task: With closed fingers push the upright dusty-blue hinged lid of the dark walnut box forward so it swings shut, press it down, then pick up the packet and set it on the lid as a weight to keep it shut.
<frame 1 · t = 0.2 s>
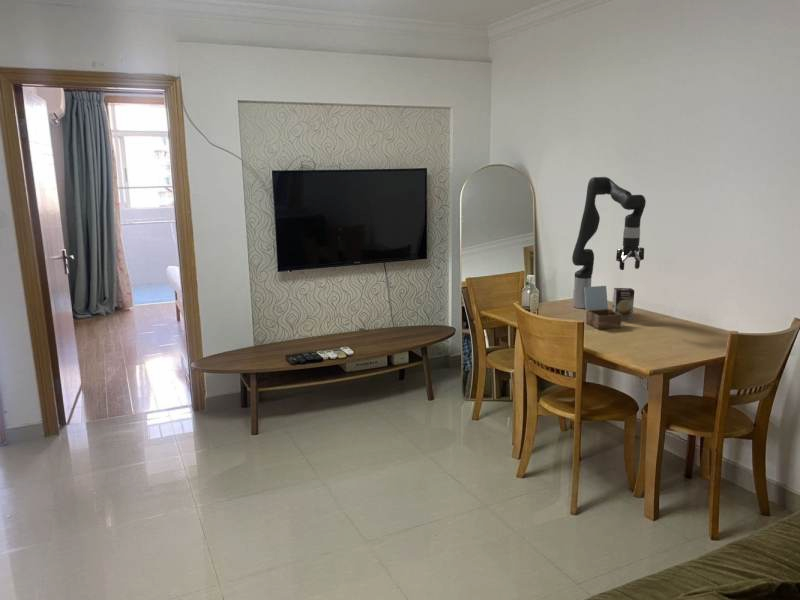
hand: (629, 269, 294), 29 cm above the table, fingers open, 8 cm apart
lid: (595, 298, 306), point 13 cm above the table, hinge at 104.0°
coffee box: (621, 319, 314), on the table
box: (603, 326, 301), on the table
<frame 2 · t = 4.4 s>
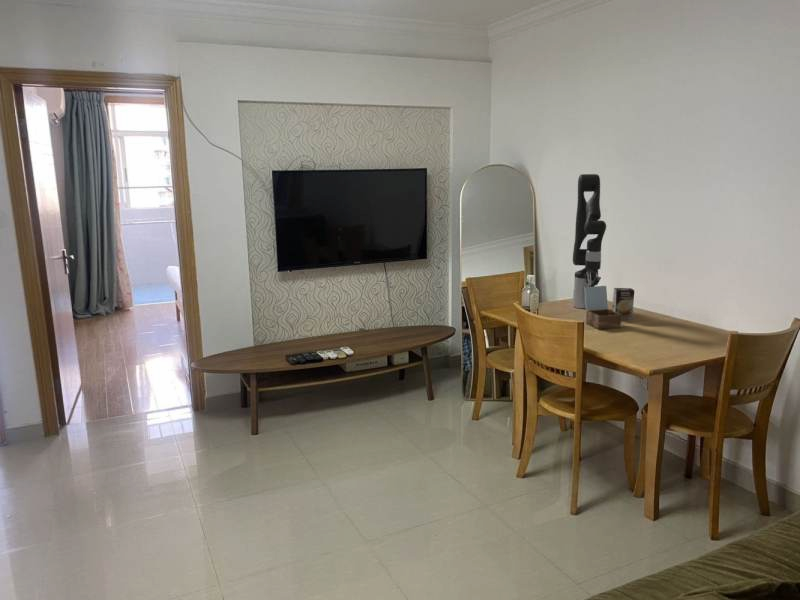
hand: (591, 292, 310), 15 cm above the table, fingers closed
lid: (595, 298, 306), point 13 cm above the table, hinge at 103.7°, touching gripper
everything else where it was.
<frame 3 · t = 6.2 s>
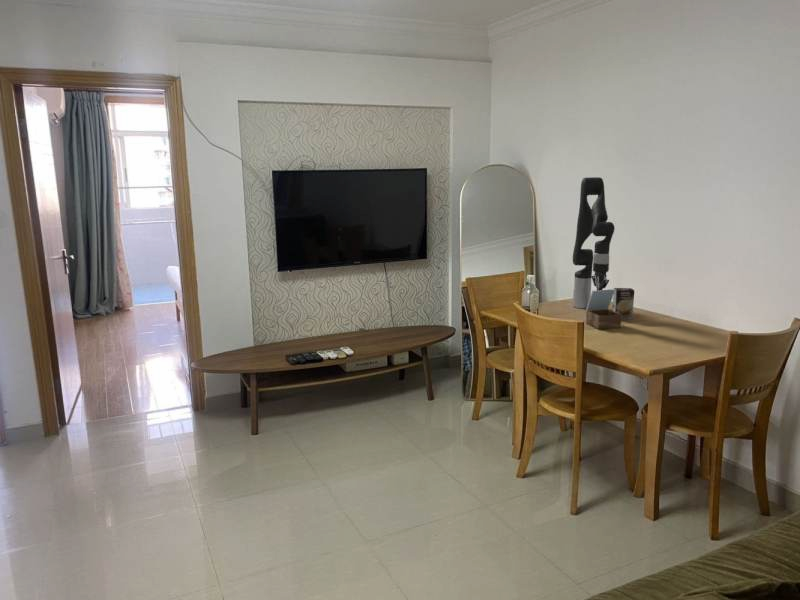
hand: (599, 295, 302), 15 cm above the table, fingers closed
lid: (600, 299, 302), point 13 cm above the table, hinge at 64.6°, touching gripper
everything else where it was.
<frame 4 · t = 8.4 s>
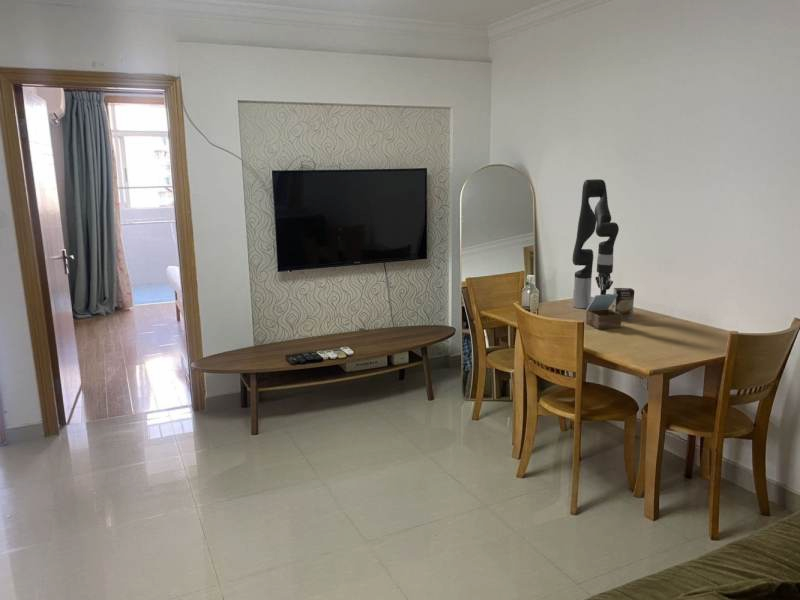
hand: (603, 297, 299), 15 cm above the table, fingers closed
lid: (601, 301, 301), point 12 cm above the table, hinge at 47.8°
everything else where it was.
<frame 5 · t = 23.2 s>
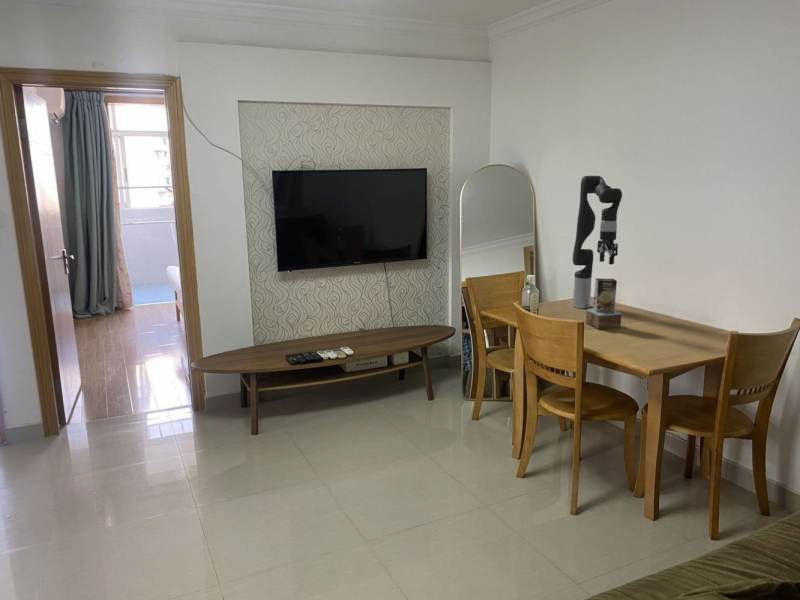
hand: (606, 262, 294), 32 cm above the table, fingers open, 8 cm apart
lid: (603, 311, 299), point 8 cm above the table, hinge at -0.3°, touching coffee box
coffee box: (603, 311, 299), point 8 cm above the table, touching lid
at the end: lid at +0° (first picture: +104°); coffee box inside the target area on the box (0.1 cm from its centre), point 7.6 cm above the box's base; coffee box tilted 0° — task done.
